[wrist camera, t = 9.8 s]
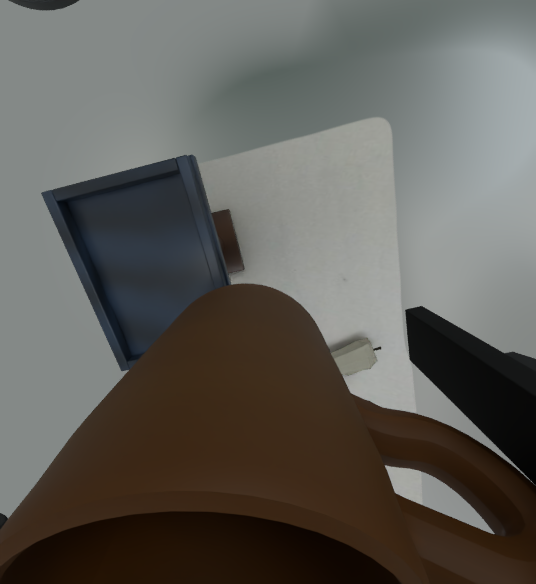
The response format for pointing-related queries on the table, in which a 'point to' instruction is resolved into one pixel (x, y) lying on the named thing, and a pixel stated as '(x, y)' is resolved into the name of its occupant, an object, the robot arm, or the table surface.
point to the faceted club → (355, 357)
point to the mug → (261, 472)
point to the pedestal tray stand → (144, 248)
